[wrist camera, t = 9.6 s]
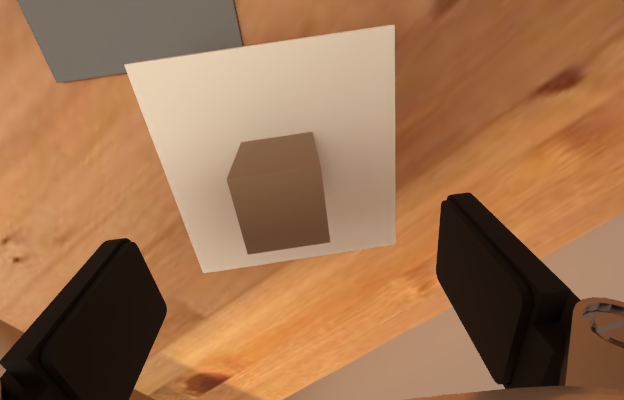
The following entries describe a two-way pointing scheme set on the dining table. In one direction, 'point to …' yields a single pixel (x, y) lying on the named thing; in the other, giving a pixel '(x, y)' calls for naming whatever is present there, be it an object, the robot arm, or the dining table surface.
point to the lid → (278, 145)
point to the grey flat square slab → (126, 32)
